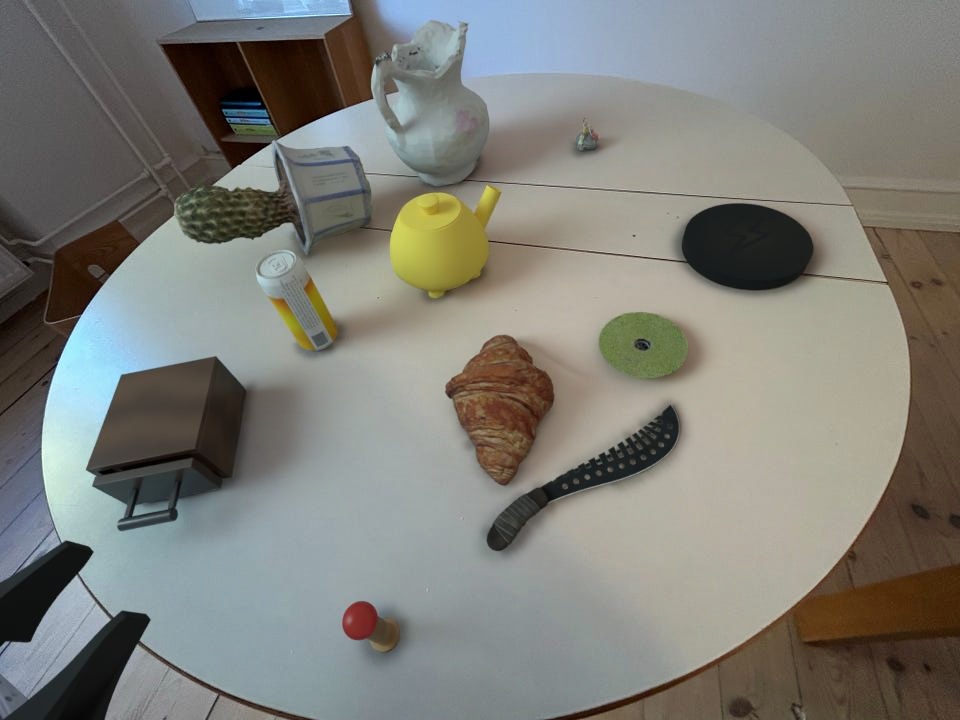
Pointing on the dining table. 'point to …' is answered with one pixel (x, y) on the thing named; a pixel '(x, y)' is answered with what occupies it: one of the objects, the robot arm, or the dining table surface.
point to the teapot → (441, 241)
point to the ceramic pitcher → (432, 105)
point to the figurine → (586, 138)
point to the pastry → (501, 404)
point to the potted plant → (284, 200)
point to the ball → (360, 620)
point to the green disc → (643, 345)
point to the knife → (539, 498)
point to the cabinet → (172, 417)
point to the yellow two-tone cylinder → (296, 299)
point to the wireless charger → (747, 246)
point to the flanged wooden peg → (385, 635)
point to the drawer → (156, 486)
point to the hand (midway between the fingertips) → (107, 578)
